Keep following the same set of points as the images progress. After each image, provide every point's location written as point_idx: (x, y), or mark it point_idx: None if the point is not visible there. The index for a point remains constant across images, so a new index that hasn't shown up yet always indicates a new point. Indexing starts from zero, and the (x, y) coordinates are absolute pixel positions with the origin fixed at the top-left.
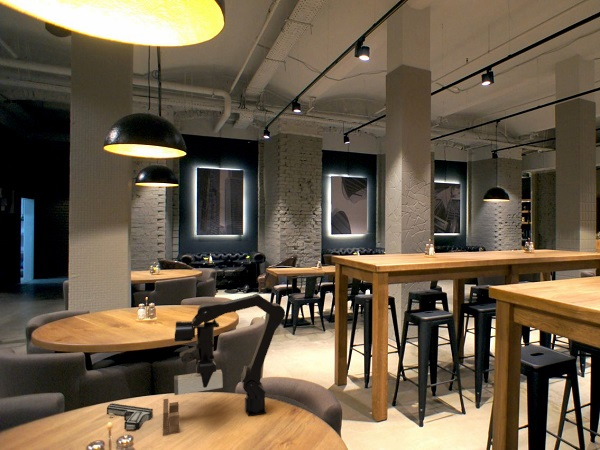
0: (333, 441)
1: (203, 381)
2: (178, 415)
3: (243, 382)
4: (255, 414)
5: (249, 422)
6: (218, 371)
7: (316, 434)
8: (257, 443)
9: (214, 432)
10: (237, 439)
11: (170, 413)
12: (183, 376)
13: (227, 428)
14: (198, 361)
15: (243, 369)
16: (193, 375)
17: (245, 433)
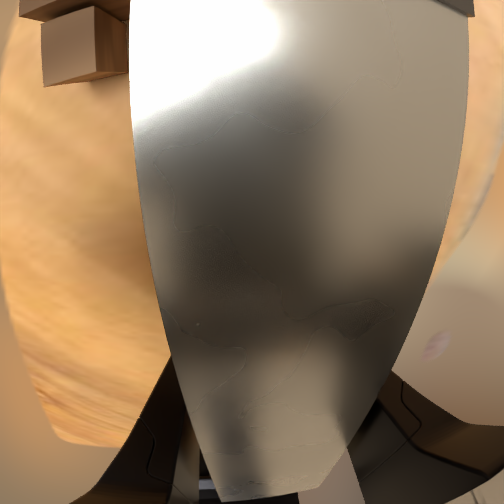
0: (66, 439)
1: (156, 396)
2: (45, 81)
3: (206, 472)
4: None
5: (143, 357)
6: (278, 490)
7: (86, 433)
8: (25, 354)
9: (69, 248)
10: (33, 316)
11: (84, 15)
12: (361, 122)
13: (100, 295)
14: (484, 498)
15: (294, 499)
16: (298, 351)
17: (69, 339)
